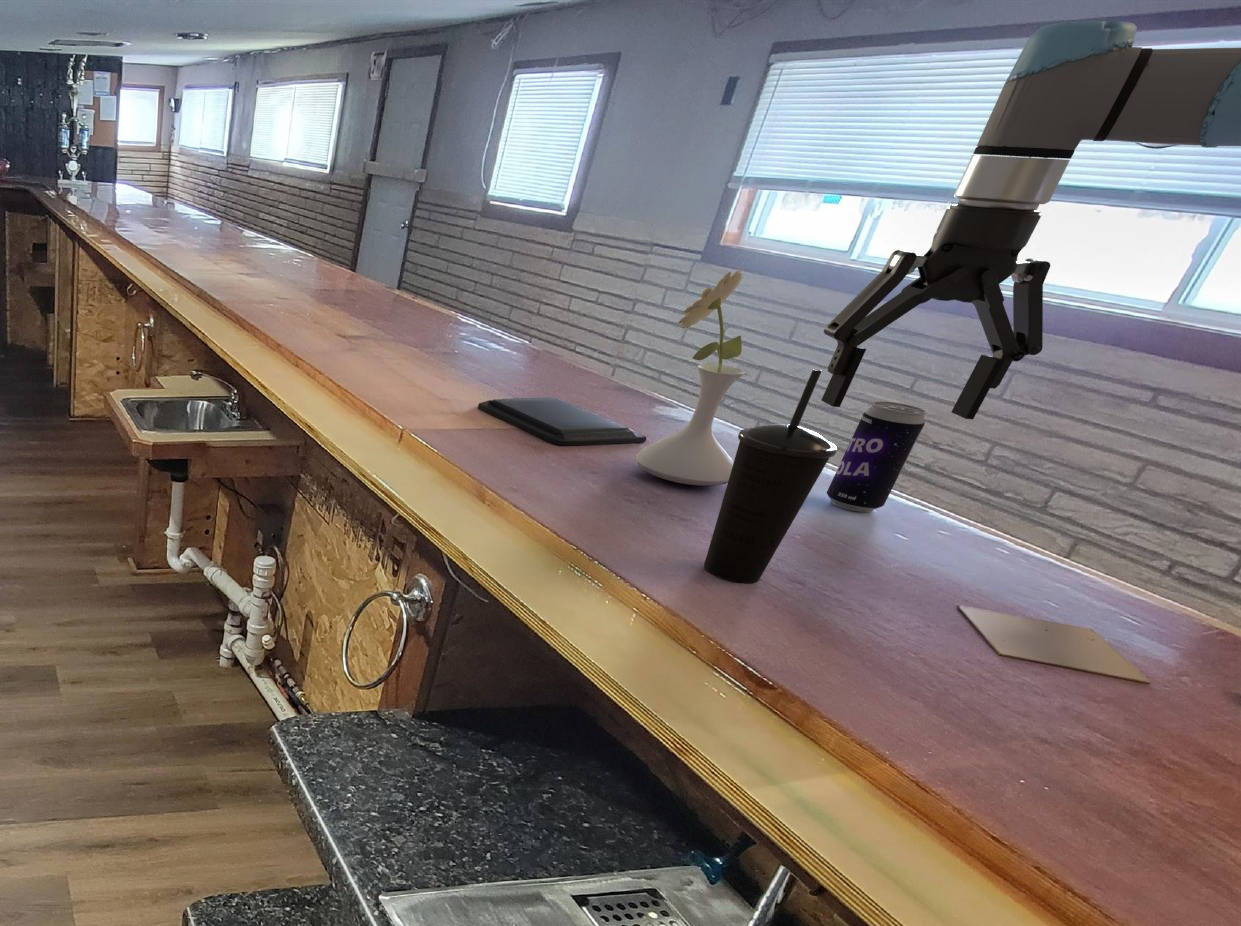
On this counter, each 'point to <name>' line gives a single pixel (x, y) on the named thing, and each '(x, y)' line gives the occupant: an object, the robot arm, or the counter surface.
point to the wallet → (560, 421)
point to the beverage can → (876, 456)
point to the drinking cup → (765, 493)
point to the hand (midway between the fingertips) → (895, 410)
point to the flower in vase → (700, 406)
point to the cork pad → (1051, 643)
